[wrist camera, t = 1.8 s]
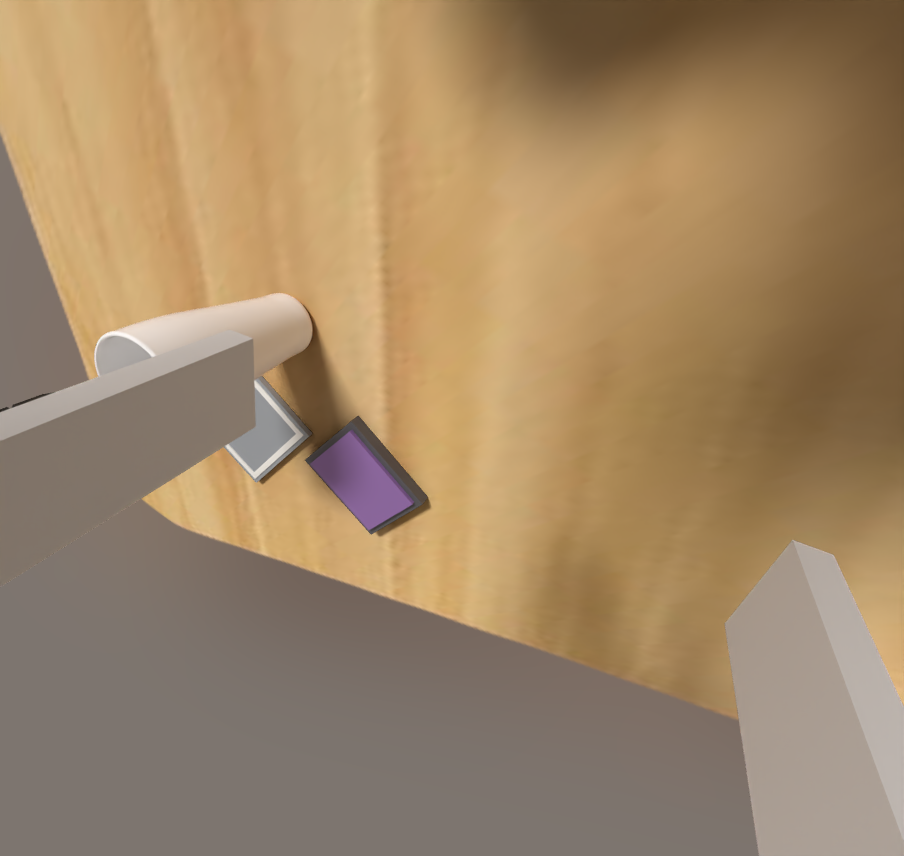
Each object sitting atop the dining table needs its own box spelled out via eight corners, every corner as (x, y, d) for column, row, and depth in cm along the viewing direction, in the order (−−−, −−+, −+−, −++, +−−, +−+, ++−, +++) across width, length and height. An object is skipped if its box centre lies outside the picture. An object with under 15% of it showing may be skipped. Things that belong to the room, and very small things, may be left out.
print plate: (190, 403, 51) (184, 405, 51) (235, 345, 45) (229, 347, 45) (260, 479, 53) (255, 483, 52) (312, 433, 47) (308, 436, 46)
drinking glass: (266, 267, 40) (91, 308, 28) (332, 309, 40) (184, 371, 27) (251, 333, 44) (91, 396, 31) (311, 373, 43) (173, 452, 31)
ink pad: (312, 454, 48) (302, 462, 47) (358, 415, 44) (348, 423, 42) (376, 527, 49) (368, 537, 48) (427, 496, 45) (420, 506, 44)
